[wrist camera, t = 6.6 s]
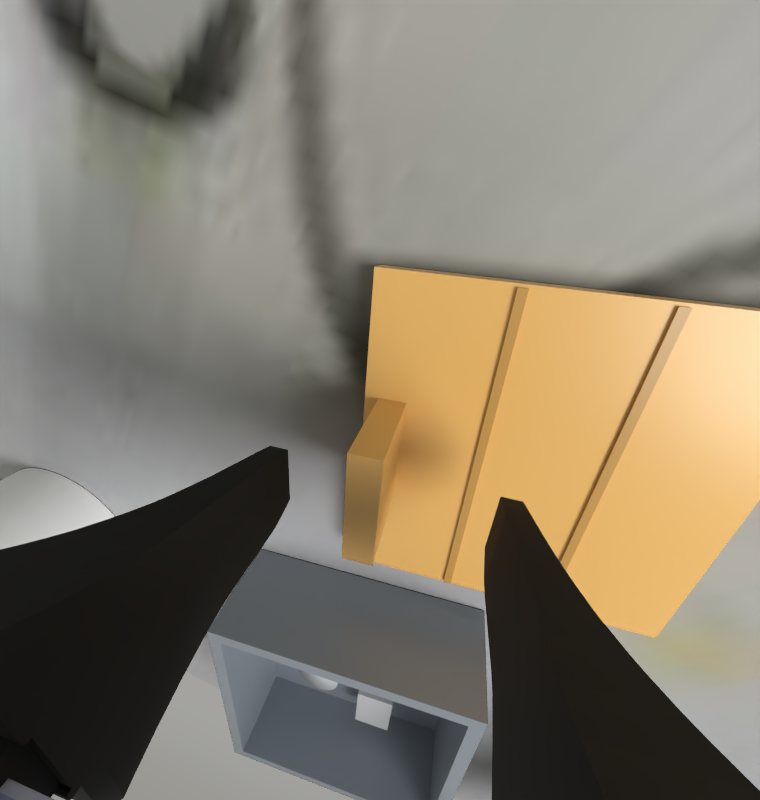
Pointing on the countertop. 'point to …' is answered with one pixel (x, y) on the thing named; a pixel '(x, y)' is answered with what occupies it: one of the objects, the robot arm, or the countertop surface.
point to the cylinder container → (44, 507)
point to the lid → (555, 433)
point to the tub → (351, 680)
